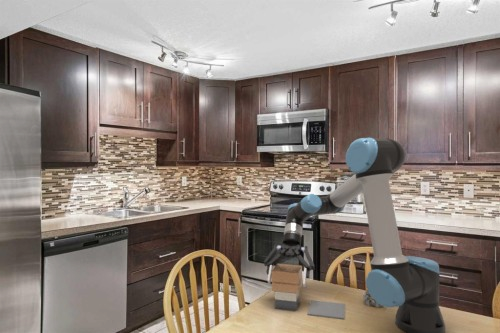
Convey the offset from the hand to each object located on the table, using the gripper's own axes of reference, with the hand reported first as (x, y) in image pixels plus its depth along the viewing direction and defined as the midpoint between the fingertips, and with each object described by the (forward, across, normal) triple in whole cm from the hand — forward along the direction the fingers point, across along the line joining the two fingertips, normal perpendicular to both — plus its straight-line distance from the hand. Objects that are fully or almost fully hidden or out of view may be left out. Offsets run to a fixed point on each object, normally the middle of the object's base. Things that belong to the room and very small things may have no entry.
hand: (286, 283), depth 134 cm
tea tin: (+5, 0, -8) cm, 9 cm away
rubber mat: (+5, -15, -8) cm, 18 cm away
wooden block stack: (0, 0, -3) cm, 3 cm away
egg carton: (-4, -33, -18) cm, 37 cm away
